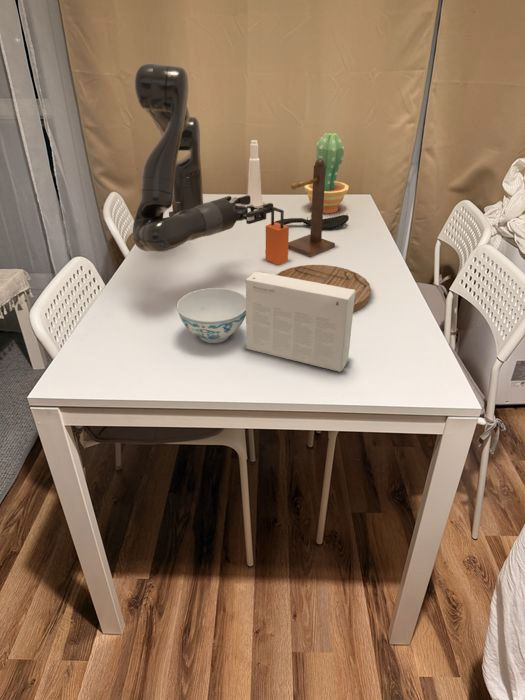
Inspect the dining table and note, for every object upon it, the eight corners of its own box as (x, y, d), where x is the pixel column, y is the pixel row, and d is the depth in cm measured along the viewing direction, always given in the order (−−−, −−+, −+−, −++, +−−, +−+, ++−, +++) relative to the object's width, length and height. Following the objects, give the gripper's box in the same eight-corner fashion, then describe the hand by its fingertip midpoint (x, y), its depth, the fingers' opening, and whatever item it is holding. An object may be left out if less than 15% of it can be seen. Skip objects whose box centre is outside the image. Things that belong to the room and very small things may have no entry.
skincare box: (349, 359, 110) (357, 289, 101) (341, 373, 106) (348, 301, 97) (256, 336, 117) (255, 269, 108) (244, 348, 113) (243, 280, 104)
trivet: (293, 264, 149) (293, 258, 148) (381, 282, 140) (382, 275, 139) (252, 302, 130) (252, 295, 129) (351, 325, 121) (352, 318, 120)
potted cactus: (352, 205, 192) (359, 131, 179) (339, 218, 181) (346, 140, 167) (311, 200, 198) (315, 127, 184) (296, 212, 186) (299, 136, 172)
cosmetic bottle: (242, 205, 193) (241, 140, 181) (253, 201, 196) (253, 137, 185) (255, 208, 189) (255, 143, 177) (266, 204, 193) (266, 140, 181)
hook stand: (302, 260, 152) (306, 169, 138) (277, 250, 158) (278, 162, 144) (334, 246, 160) (341, 160, 146) (309, 237, 166) (313, 153, 152)
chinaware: (222, 361, 109) (220, 328, 105) (165, 340, 116) (161, 309, 112) (261, 329, 120) (261, 298, 115) (207, 312, 126) (205, 282, 122)
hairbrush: (270, 213, 176) (346, 209, 176) (270, 224, 178) (346, 220, 178) (271, 222, 170) (350, 217, 169) (272, 233, 172) (350, 228, 172)
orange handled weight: (277, 265, 149) (278, 212, 141) (265, 259, 152) (265, 207, 144) (288, 261, 151) (289, 208, 143) (275, 255, 154) (276, 204, 146)
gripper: (230, 210, 123) (280, 194, 132) (192, 195, 132) (241, 182, 141) (231, 241, 127) (279, 224, 137) (194, 225, 136) (242, 210, 145)
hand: (260, 203), depth 139 cm, fingers open, 8 cm apart
